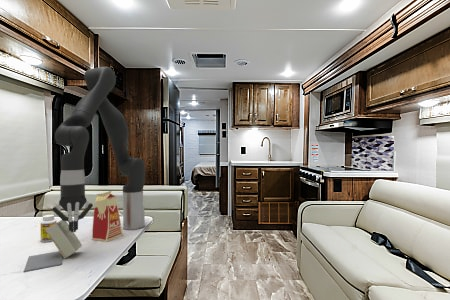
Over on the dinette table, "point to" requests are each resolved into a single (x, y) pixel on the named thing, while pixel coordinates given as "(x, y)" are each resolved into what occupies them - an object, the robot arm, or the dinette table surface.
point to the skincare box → (64, 238)
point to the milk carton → (106, 218)
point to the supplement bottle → (46, 223)
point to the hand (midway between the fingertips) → (73, 231)
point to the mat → (43, 261)
